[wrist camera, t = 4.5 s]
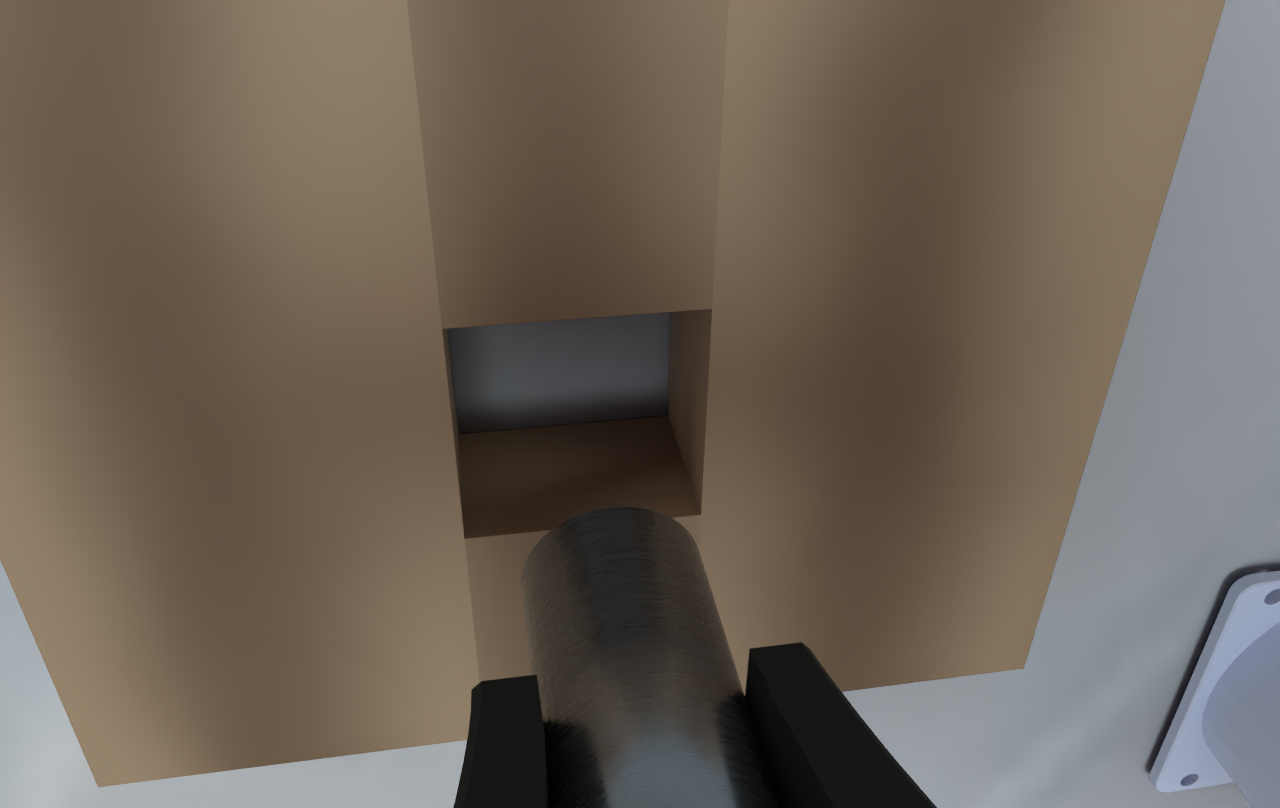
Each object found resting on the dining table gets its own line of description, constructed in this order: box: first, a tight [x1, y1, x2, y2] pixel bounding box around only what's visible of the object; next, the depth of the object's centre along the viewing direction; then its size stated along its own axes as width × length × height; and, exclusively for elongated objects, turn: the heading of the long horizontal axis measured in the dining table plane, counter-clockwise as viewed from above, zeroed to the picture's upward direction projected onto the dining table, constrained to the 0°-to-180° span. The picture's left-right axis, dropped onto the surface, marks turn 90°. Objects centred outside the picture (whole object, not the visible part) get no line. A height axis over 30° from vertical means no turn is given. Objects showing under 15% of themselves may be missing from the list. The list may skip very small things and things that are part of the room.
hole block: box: [0, 0, 1225, 787], centre depth 18 cm, size 18×14×3 cm
